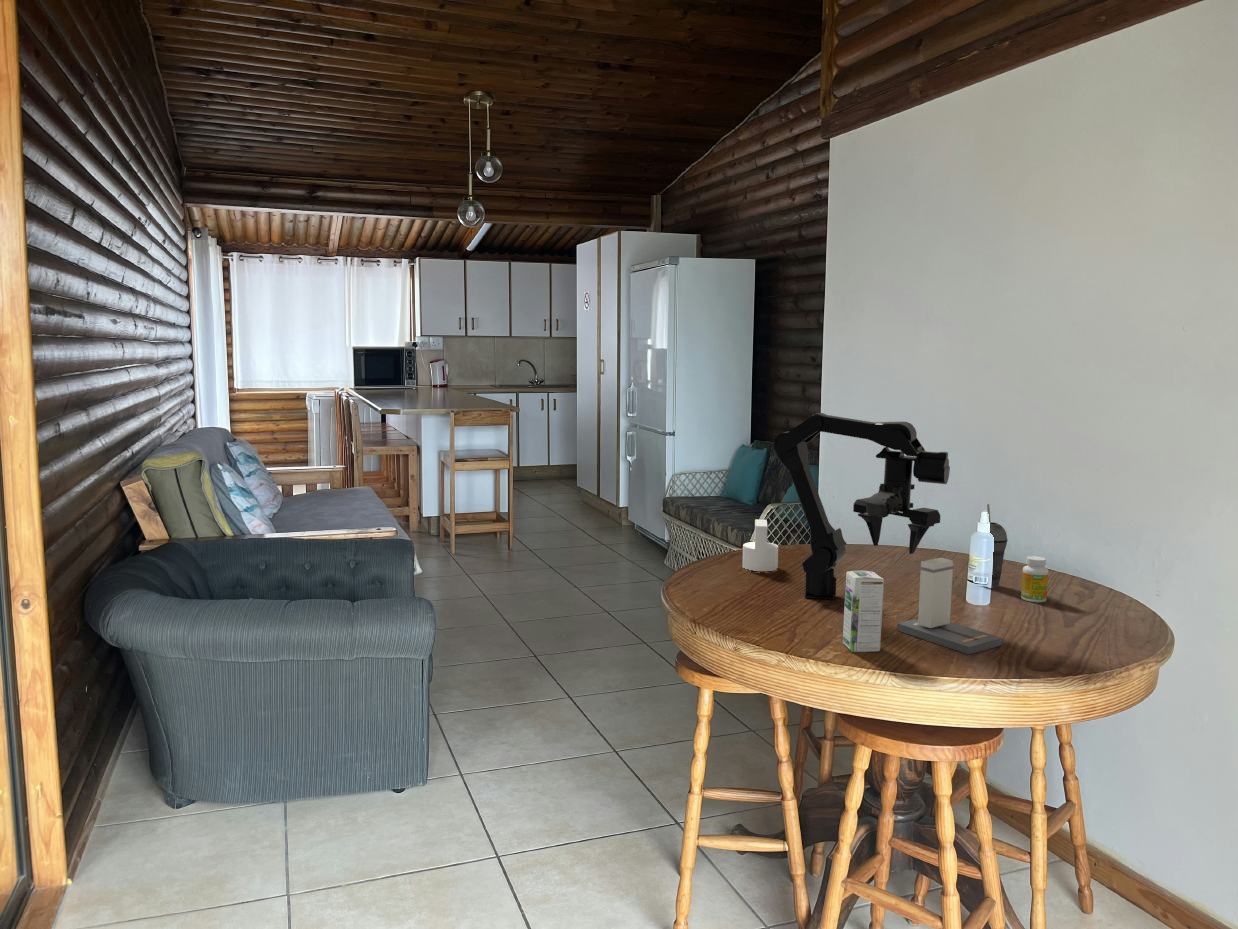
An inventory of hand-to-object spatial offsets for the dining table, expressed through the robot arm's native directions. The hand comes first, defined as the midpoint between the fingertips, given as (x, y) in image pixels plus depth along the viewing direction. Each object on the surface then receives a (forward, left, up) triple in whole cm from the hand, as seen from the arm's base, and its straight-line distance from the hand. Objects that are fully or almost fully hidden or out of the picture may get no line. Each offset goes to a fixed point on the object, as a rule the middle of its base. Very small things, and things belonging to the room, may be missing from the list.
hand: (893, 549), depth 200 cm
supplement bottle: (+32, +13, -13) cm, 37 cm away
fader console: (+10, -20, -13) cm, 26 cm away
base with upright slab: (-31, +28, -13) cm, 44 cm away
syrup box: (-8, -30, -13) cm, 34 cm away
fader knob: (+7, -17, -11) cm, 22 cm away
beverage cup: (+24, +23, -13) cm, 36 cm away
